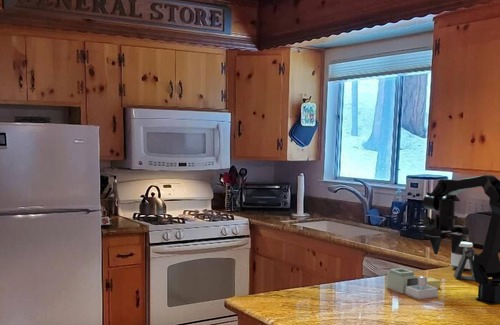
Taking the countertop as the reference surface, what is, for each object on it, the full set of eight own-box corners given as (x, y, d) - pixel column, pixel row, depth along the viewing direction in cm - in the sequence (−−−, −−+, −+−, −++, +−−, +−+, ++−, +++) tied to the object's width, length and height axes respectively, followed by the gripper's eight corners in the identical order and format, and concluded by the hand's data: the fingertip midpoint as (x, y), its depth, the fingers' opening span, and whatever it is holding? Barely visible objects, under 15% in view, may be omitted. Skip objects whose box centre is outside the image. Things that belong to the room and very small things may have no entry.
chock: (439, 288, 187) (440, 280, 187) (426, 289, 185) (426, 281, 185) (431, 285, 191) (431, 277, 191) (417, 286, 190) (418, 278, 189)
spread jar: (461, 272, 214) (462, 244, 214) (441, 266, 224) (442, 240, 224) (481, 270, 219) (483, 243, 219) (461, 264, 229) (462, 239, 229)
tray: (437, 297, 174) (438, 288, 174) (418, 299, 171) (418, 290, 170) (424, 292, 180) (425, 284, 180) (405, 294, 176) (405, 286, 176)
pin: (428, 295, 174) (429, 277, 174) (421, 295, 173) (422, 278, 173) (421, 292, 177) (422, 275, 177) (415, 293, 176) (416, 276, 176)
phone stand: (455, 279, 201) (457, 249, 201) (453, 275, 207) (455, 246, 207) (480, 281, 199) (481, 251, 199) (477, 277, 205) (478, 248, 204)
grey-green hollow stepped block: (420, 291, 181) (421, 272, 181) (402, 293, 177) (403, 273, 177) (404, 285, 188) (405, 267, 188) (386, 287, 184) (387, 268, 184)
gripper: (447, 209, 202) (445, 247, 202) (412, 210, 193) (410, 250, 194) (470, 212, 192) (468, 253, 192) (434, 214, 183) (432, 256, 184)
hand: (444, 253), depth 191 cm, fingers open, 9 cm apart
